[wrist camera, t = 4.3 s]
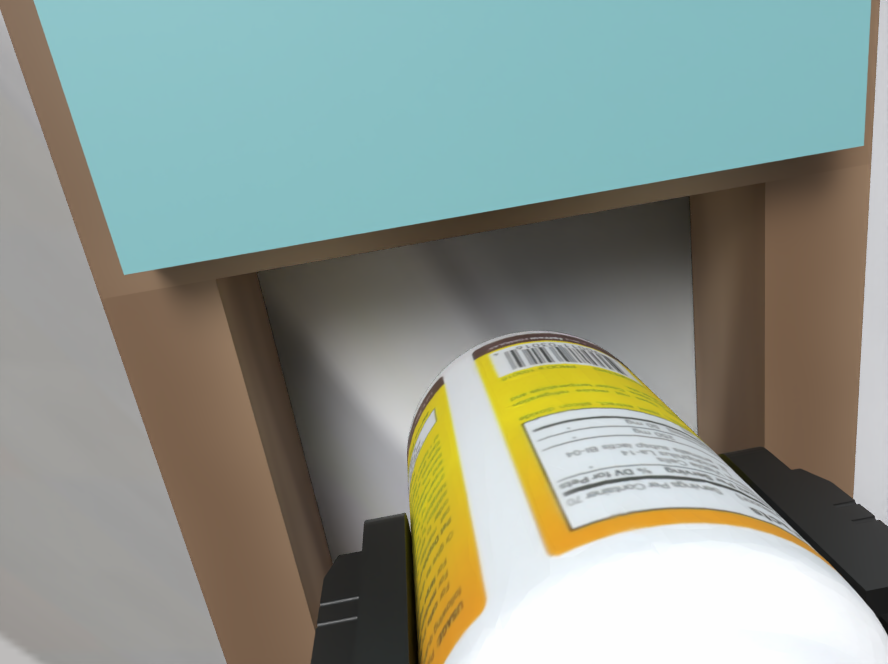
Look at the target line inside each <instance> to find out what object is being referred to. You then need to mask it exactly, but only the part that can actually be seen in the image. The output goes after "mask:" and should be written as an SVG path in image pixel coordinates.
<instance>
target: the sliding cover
mask: <svg viewBox="0 0 888 664" xmlns="http://www.w3.org/2000/svg"><path fill="white" fill-rule="evenodd" d="M34 3H35V6H36V9H37V12H38V15H39V18H40V22H41V25H42V28H43V31H44V34H45V37H46V40H47V43H48V46H49V49H50V52H51V55H52V58H53V61H54V64H55V67H56V70H57V73H58V76H59V79H60V82H61V85H62V88H63V91H64V94H65V97H66V100H67V103H68V106H69V109H70V112H71V116H72V119H73V122H74V125H75V128H76V131H77V134H78V137H79V140H80V143H81V146H82V149H83V152H84V155H85V158H86V161H87V164H88V167H89V170H90V173H91V176H92V179H93V182H94V185H95V188H96V191H97V194H98V197H99V200H100V203H101V206H102V209H103V213H104V216H105V219H106V222H107V225H108V228H109V231H110V234H111V237H112V240H113V243H114V246H115V249H116V252H117V255H118V258H119V261H120V264H121V267H122V270H123V273H124V275H127V274H133V273H138V272H144V271H150V270H155V269H161V268H167V267H173V266H178V265H184V264H190V263H195V262H201V261H207V260H213V259H218V258H224V257H230V256H236V255H241V254H247V253H253V252H258V251H264V250H270V249H276V248H281V247H287V246H293V245H298V244H304V243H310V242H316V241H321V240H327V239H333V238H339V237H344V236H350V235H356V234H361V233H367V232H373V231H379V230H384V229H390V228H396V227H402V226H407V225H413V224H419V223H424V222H430V221H436V220H442V219H447V218H453V217H459V216H464V215H470V214H476V213H482V212H487V211H493V210H499V209H505V208H510V207H516V206H522V205H527V204H533V203H539V202H545V201H550V200H556V199H562V198H567V197H573V196H579V195H585V194H590V193H596V192H602V191H608V190H613V189H619V188H625V187H630V186H636V185H642V184H648V183H653V182H659V181H665V180H670V179H676V178H682V177H688V176H693V175H699V174H705V173H711V172H716V171H722V170H728V169H733V168H739V167H745V166H751V165H756V164H762V163H768V162H773V161H779V160H785V159H791V158H796V157H802V156H808V155H814V154H819V153H825V152H831V151H836V150H842V149H848V148H854V147H859V146H864V133H865V113H866V93H867V73H868V53H869V33H870V13H871V0H34Z"/></svg>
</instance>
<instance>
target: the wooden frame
mask: <svg viewBox="0 0 888 664" xmlns="http://www.w3.org/2000/svg"><path fill="white" fill-rule="evenodd" d="M879 7H880V0H871V13H870V33H869V53H868V73H867V93H866V113H865V133H864V146H859V147H854V148H848V149H842V150H836V151H831V152H825V153H819V154H814V155H808V156H802V157H796V158H791V159H785V160H779V161H773V162H768V163H762V164H756V165H751V166H745V167H739V168H733V169H728V170H722V171H716V172H711V173H705V174H699V175H693V176H688V177H682V178H676V179H670V180H665V181H659V182H653V183H648V184H642V185H636V186H630V187H625V188H619V189H613V190H608V191H602V192H596V193H590V194H585V195H579V196H573V197H567V198H562V199H556V200H550V201H545V202H539V203H533V204H527V205H522V206H516V207H510V208H505V209H499V210H493V211H487V212H482V213H476V214H470V215H464V216H459V217H453V218H447V219H442V220H436V221H430V222H424V223H419V224H413V225H407V226H402V227H396V228H390V229H384V230H379V231H373V232H367V233H361V234H356V235H350V236H344V237H339V238H333V239H327V240H321V241H316V242H310V243H304V244H298V245H293V246H287V247H281V248H276V249H270V250H264V251H258V252H253V253H247V254H241V255H236V256H230V257H224V258H218V259H213V260H207V261H201V262H195V263H190V264H184V265H178V266H173V267H167V268H161V269H155V270H150V271H144V272H138V273H133V274H127V275H124V273H123V270H122V267H121V264H120V261H119V258H118V255H117V252H116V249H115V246H114V243H113V240H112V237H111V234H110V231H109V228H108V225H107V222H106V219H105V216H104V213H103V209H102V206H101V203H100V200H99V197H98V194H97V191H96V188H95V185H94V182H93V179H92V176H91V173H90V170H89V167H88V164H87V161H86V158H85V155H84V152H83V149H82V146H81V143H80V140H79V137H78V134H77V131H76V128H75V125H74V122H73V119H72V116H71V112H70V109H69V106H68V103H67V100H66V97H65V94H64V91H63V88H62V85H61V82H60V79H59V76H58V73H57V70H56V67H55V64H54V61H53V58H52V55H51V52H50V49H49V46H48V43H47V40H46V37H45V34H44V31H43V28H42V25H41V22H40V18H39V15H38V12H37V9H36V6H35V3H34V0H0V9H1V12H2V15H3V18H4V21H5V24H6V27H7V30H8V33H9V35H10V38H11V41H12V44H13V47H14V50H15V53H16V56H17V59H18V61H19V64H20V67H21V70H22V73H23V76H24V79H25V82H26V85H27V87H28V90H29V93H30V96H31V99H32V102H33V105H34V108H35V111H36V113H37V116H38V119H39V122H40V125H41V128H42V131H43V134H44V137H45V139H46V142H47V145H48V148H49V151H50V154H51V157H52V160H53V163H54V165H55V168H56V171H57V174H58V177H59V180H60V183H61V186H62V188H63V191H64V194H65V197H66V200H67V203H68V206H69V209H70V212H71V214H72V217H73V220H74V223H75V226H76V229H77V232H78V235H79V238H80V240H81V243H82V246H83V249H84V252H85V255H86V258H87V261H88V264H89V266H90V269H91V272H92V275H93V278H94V281H95V284H96V287H97V290H98V292H99V295H100V298H101V301H102V304H103V307H104V310H105V313H106V316H107V318H108V321H109V324H110V327H111V330H112V333H113V336H114V339H115V342H116V344H117V347H118V350H119V353H120V356H121V359H122V362H123V365H124V368H125V370H126V373H127V376H128V379H129V382H130V385H131V388H132V391H133V394H134V396H135V399H136V402H137V405H138V408H139V411H140V414H141V417H142V420H143V422H144V425H145V428H146V431H147V434H148V437H149V440H150V443H151V446H152V448H153V451H154V454H155V457H156V460H157V463H158V466H159V469H160V472H161V474H162V477H163V480H164V483H165V486H166V489H167V492H168V495H169V498H170V500H171V503H172V506H173V509H174V512H175V515H176V518H177V521H178V524H179V526H180V529H181V532H182V535H183V538H184V541H185V544H186V547H187V550H188V552H189V555H190V558H191V561H192V564H193V567H194V570H195V573H196V576H197V578H198V581H199V584H200V587H201V590H202V593H203V596H204V599H205V602H206V604H207V607H208V610H209V613H210V616H211V619H212V622H213V625H214V628H215V630H216V633H217V636H218V639H219V642H220V645H221V648H222V651H223V654H224V656H225V659H226V662H227V664H311V657H312V651H313V644H314V638H315V631H316V628H317V618H318V612H319V607H320V599H321V592H322V586H323V580H324V577H325V576H326V574H327V573H328V571H329V570H330V568H331V567H332V565H333V564H332V560H331V556H330V552H329V549H328V545H327V541H326V537H325V533H324V529H323V526H322V522H321V518H320V514H319V510H318V506H317V503H316V499H315V495H314V491H313V487H312V483H311V480H310V476H309V472H308V468H307V464H306V460H305V457H304V453H303V449H302V445H301V441H300V437H299V434H298V430H297V426H296V422H295V418H294V414H293V411H292V407H291V403H290V399H289V395H288V391H287V388H286V384H285V380H284V376H283V372H282V369H281V365H280V361H279V357H278V353H277V349H276V346H275V342H274V338H273V334H272V330H271V326H270V323H269V319H268V315H267V311H266V307H265V303H264V300H263V296H262V292H261V288H260V284H259V280H258V277H257V273H256V272H258V271H264V270H270V269H276V268H281V267H287V266H293V265H298V264H304V263H310V262H315V261H321V260H327V259H332V258H338V257H344V256H349V255H355V254H361V253H366V252H372V251H378V250H384V249H389V248H395V247H401V246H406V245H412V244H418V243H423V242H429V241H435V240H440V239H446V238H452V237H457V236H463V235H469V234H474V233H480V232H486V231H492V230H497V229H503V228H509V227H514V226H520V225H526V224H531V223H537V222H543V221H548V220H554V219H560V218H565V217H571V216H577V215H583V214H588V213H594V212H600V211H605V210H611V209H617V208H622V207H628V206H634V205H639V204H645V203H651V202H656V201H662V200H668V199H673V198H679V197H685V196H690V223H691V251H692V279H693V307H694V335H695V363H696V391H697V420H698V437H699V438H700V439H701V440H702V441H703V442H704V443H705V444H707V445H708V446H709V447H710V448H711V449H712V450H713V451H714V452H715V453H716V454H717V455H719V454H722V453H727V452H732V451H738V450H743V449H748V448H754V447H759V446H760V447H764V448H766V449H767V450H768V451H770V452H771V453H772V454H773V455H774V456H776V457H777V458H778V459H779V460H780V461H781V462H783V463H784V464H785V465H786V466H787V467H789V468H790V469H791V470H794V469H799V468H801V469H803V470H805V471H808V472H810V473H812V474H815V475H817V476H819V477H822V478H824V479H826V480H829V481H831V482H832V483H834V484H835V485H836V486H837V487H839V488H840V489H841V490H843V491H844V492H845V493H846V494H848V495H849V496H850V497H851V498H853V490H854V471H855V453H856V434H857V416H858V397H859V378H860V360H861V341H862V323H863V304H864V286H865V267H866V249H867V230H868V211H869V193H870V174H871V156H872V137H873V119H874V100H875V82H876V63H877V45H878V26H879Z"/></svg>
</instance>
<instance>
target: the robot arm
mask: <svg viewBox="0 0 888 664" xmlns="http://www.w3.org/2000/svg"><path fill="white" fill-rule="evenodd" d="M718 456H719V457H720V458H721V459H722V460H723V461H724V462H725V463H726V464H727V465H728V466H729V467H730V468H731V469H732V470H733V471H734V472H735V473H736V474H737V475H738V476H739V477H740V478H741V479H742V480H744V481H745V482H746V483H747V484H748V485H749V486H750V487H751V488H752V489H753V490H754V491H755V492H756V493H757V494H758V495H759V496H760V497H761V498H762V499H763V500H764V501H765V502H766V503H767V504H768V505H769V506H770V507H771V508H772V509H773V510H774V511H776V512H777V513H778V514H779V515H780V516H781V517H782V518H783V519H784V520H785V521H786V522H787V523H788V524H789V525H790V526H791V527H792V528H793V529H794V530H795V531H796V532H797V533H798V534H799V535H800V536H801V537H802V538H803V539H804V540H805V541H806V542H807V543H808V544H810V545H811V546H812V547H813V548H814V549H815V550H816V551H817V552H818V553H819V554H820V555H821V556H822V557H823V558H824V559H825V560H826V561H828V562H829V563H830V564H831V566H832V567H833V568H834V569H835V570H836V571H837V572H838V573H839V574H840V575H841V576H842V577H843V578H844V579H845V580H846V581H847V582H848V583H849V585H850V586H851V587H852V588H853V589H854V590H855V591H856V592H857V593H858V595H859V596H860V597H861V598H862V599H863V600H864V602H865V603H866V604H867V605H868V606H869V607H870V608H871V610H872V611H873V612H874V614H875V615H876V617H877V618H878V620H879V621H880V623H881V624H882V626H883V628H884V629H885V631H886V633H887V635H888V526H887V525H885V524H884V523H883V522H882V521H880V520H876V519H875V516H874V515H873V514H871V513H870V512H869V511H868V510H866V509H865V508H864V507H863V506H861V505H860V504H856V503H855V500H854V499H853V498H851V497H850V496H849V495H848V494H846V493H845V492H844V491H843V490H841V489H840V488H839V487H837V486H836V485H835V484H834V483H832V482H831V481H829V480H826V479H824V478H822V477H819V476H817V475H815V474H812V473H810V472H808V471H805V470H803V469H801V468H799V469H794V470H791V469H790V468H789V467H787V466H786V465H785V464H784V463H783V462H781V461H780V460H779V459H778V458H777V457H776V456H774V455H773V454H772V453H771V452H770V451H768V450H767V449H766V448H764V447H760V446H759V447H754V448H748V449H743V450H738V451H732V452H727V453H722V454H719V455H718ZM311 664H418V647H417V624H416V611H415V589H414V575H413V554H412V536H411V532H410V527H409V522H408V518H407V515H406V513H402V514H397V515H392V516H386V517H381V518H376V519H371V520H365V522H364V532H363V546H362V551H360V552H355V553H350V554H344V555H339V556H338V558H337V559H336V561H335V562H334V564H333V565H332V567H331V568H330V570H329V571H328V573H327V574H326V576H325V577H324V580H323V586H322V592H321V599H320V607H319V612H318V618H317V628H316V631H315V638H314V644H313V651H312V657H311Z"/></svg>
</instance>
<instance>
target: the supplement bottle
mask: <svg viewBox="0 0 888 664" xmlns="http://www.w3.org/2000/svg"><path fill="white" fill-rule="evenodd" d="M407 468H408V490H409V502H410V520H411V536H412V554H413V575H414V589H415V611H416V624H417V647H418V664H888V635H887V633H886V631H885V629H884V628H883V626H882V624H881V623H880V621H879V620H878V618H877V617H876V615H875V614H874V612H873V611H872V610H871V608H870V607H869V606H868V605H867V604H866V603H865V602H864V600H863V599H862V598H861V597H860V596H859V595H858V593H857V592H856V591H855V590H854V589H853V588H852V587H851V586H850V585H849V583H848V582H847V581H846V580H845V579H844V578H843V577H842V576H841V575H840V574H839V573H838V572H837V571H836V570H835V569H834V568H833V567H832V566H831V564H830V563H829V562H828V561H826V560H825V559H824V558H823V557H822V556H821V555H820V554H819V553H818V552H817V551H816V550H815V549H814V548H813V547H812V546H811V545H810V544H808V543H807V542H806V541H805V540H804V539H803V538H802V537H801V536H800V535H799V534H798V533H797V532H796V531H795V530H794V529H793V528H792V527H791V526H790V525H789V524H788V523H787V522H786V521H785V520H784V519H783V518H782V517H781V516H780V515H779V514H778V513H777V512H776V511H774V510H773V509H772V508H771V507H770V506H769V505H768V504H767V503H766V502H765V501H764V500H763V499H762V498H761V497H760V496H759V495H758V494H757V493H756V492H755V491H754V490H753V489H752V488H751V487H750V486H749V485H748V484H747V483H746V482H745V481H744V480H742V479H741V478H740V477H739V476H738V475H737V474H736V473H735V472H734V471H733V470H732V469H731V468H730V467H729V466H728V465H727V464H726V463H725V462H724V461H723V460H722V459H721V458H720V457H719V456H718V455H717V454H716V453H715V452H714V451H713V450H712V449H711V448H710V447H709V446H708V445H707V444H705V443H704V442H703V441H702V440H701V439H700V438H699V437H698V436H697V435H696V434H695V433H694V432H693V431H692V430H691V429H690V428H689V427H688V426H687V425H686V424H685V423H684V422H683V421H682V420H681V419H680V418H679V417H678V416H677V415H676V414H675V413H674V412H673V411H672V410H671V409H670V408H668V407H667V406H666V405H665V404H664V403H663V402H662V401H661V400H660V399H659V398H658V397H657V396H656V395H655V394H654V393H653V392H652V391H651V390H650V389H649V388H648V387H647V386H646V385H645V384H644V383H643V382H642V381H641V380H639V379H638V378H637V377H636V376H635V375H634V374H633V373H632V372H631V371H630V369H629V368H628V367H626V366H625V365H624V364H623V363H622V362H620V361H619V360H618V359H617V358H615V357H614V356H613V355H611V354H610V353H609V352H607V351H606V350H604V349H603V348H601V347H599V346H597V345H595V344H593V343H592V342H589V341H587V340H584V339H582V338H579V337H576V336H573V335H569V334H565V333H559V332H553V331H523V332H517V333H511V334H507V335H503V336H499V337H496V338H493V339H490V340H488V341H486V342H483V343H481V344H479V345H477V346H475V347H473V348H471V349H470V350H468V351H466V352H465V353H463V354H462V355H460V356H459V357H458V358H456V359H455V360H454V361H452V362H451V363H450V364H449V365H448V366H447V367H446V368H445V369H444V370H443V371H442V372H441V373H440V374H439V375H438V376H437V377H436V378H435V379H434V381H433V382H432V383H431V385H430V386H429V388H428V389H427V391H426V392H425V394H424V395H423V397H422V399H421V401H420V403H419V405H418V407H417V409H416V412H415V414H414V417H413V421H412V424H411V428H410V432H409V437H408V445H407Z"/></svg>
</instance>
